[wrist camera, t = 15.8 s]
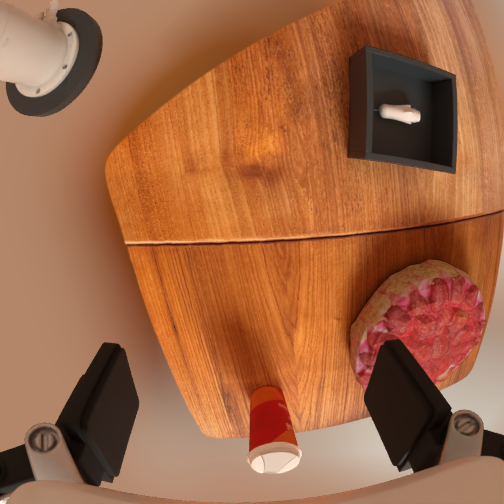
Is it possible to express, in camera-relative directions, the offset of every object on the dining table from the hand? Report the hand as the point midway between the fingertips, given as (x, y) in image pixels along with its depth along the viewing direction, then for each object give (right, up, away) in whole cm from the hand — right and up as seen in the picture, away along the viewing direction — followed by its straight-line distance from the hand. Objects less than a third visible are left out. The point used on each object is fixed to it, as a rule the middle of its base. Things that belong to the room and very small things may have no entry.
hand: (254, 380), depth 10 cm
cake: (+27, -8, +34) cm, 44 cm away
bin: (+19, +23, +23) cm, 37 cm away
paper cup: (+2, -20, +37) cm, 42 cm away
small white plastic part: (+18, +23, +23) cm, 37 cm away
